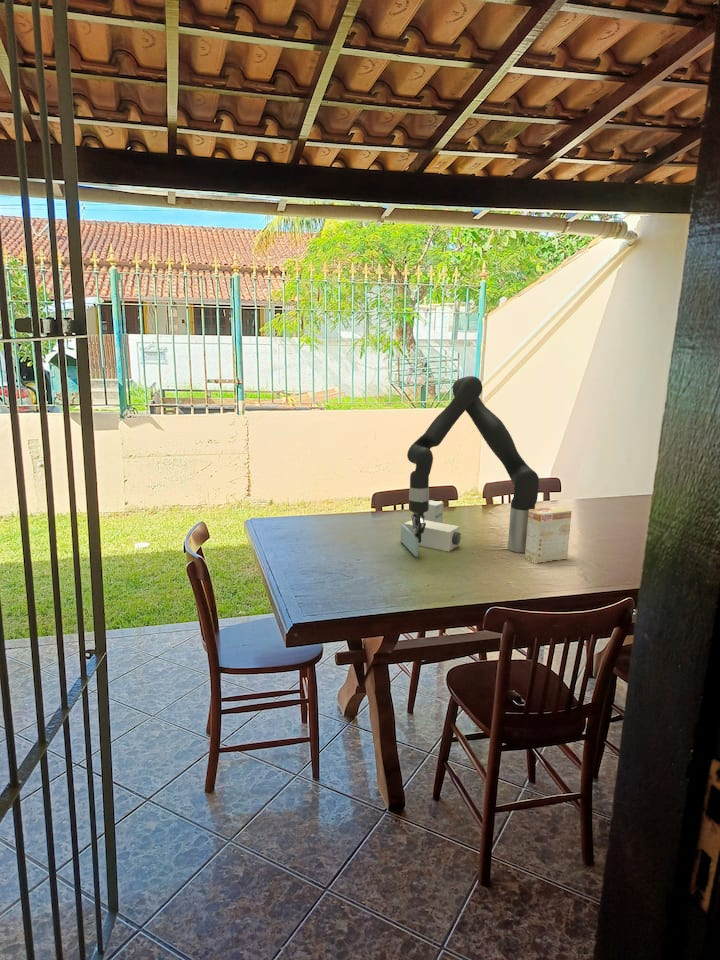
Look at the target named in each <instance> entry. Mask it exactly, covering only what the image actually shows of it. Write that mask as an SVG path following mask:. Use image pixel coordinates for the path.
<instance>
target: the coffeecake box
mask: <svg viewBox="0 0 720 960" xmlns="http://www.w3.org/2000/svg"><path fill="white" fill-rule="evenodd" d="M572 511H573V510H570V509H568V508H566V507H564V506H561V505H560V506H553V507H552V506H551V507H542V508H535V509H529V512H528V525H527V538H526V550H525V553H524V558H525V559H526V558H527V559H526V560H528V559H529V560H528V561H530V560H531V561H533V562H535V563H536V562H543V563H547V562H546V561H551V562H553V561H552V560H558V561H560V560H559V559H565V558H567V559H568V555H569V554H568V553H569V544H570V543H569V541H570V534H571V533H570V531H571V530H570V529H571V519H572ZM531 561H530V562H531ZM533 562H532V563H533ZM535 563H534V564H535ZM536 564H537V563H536Z"/></svg>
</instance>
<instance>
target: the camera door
mask: <svg viewBox="0 0 720 960" xmlns="http://www.w3.org/2000/svg"><path fill="white" fill-rule="evenodd" d="M400 542H401V543H402V545H404V546H405V547H406V548H407V550H409V551H410V553H411V554H412V555H413V556H414V557H418V555H419V545H418V538H417V537H416V536H415V535H414V534H413V533H412V532H411V531H410V530H409V529H408V528H407V527H406V526H405V525H404V523H401V527H400Z"/></svg>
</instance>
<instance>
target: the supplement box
mask: <svg viewBox="0 0 720 960" xmlns="http://www.w3.org/2000/svg"><path fill="white" fill-rule="evenodd" d="M443 515H444V502H442V501H438V500H431V499H429V510H428V511H427V512H424V516H425V520H427V521H433V522H438V523H444V522H443V521H444V516H443Z"/></svg>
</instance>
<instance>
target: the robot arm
mask: <svg viewBox="0 0 720 960" xmlns="http://www.w3.org/2000/svg"><path fill="white" fill-rule="evenodd" d="M482 392H483V383H482V381H481V380H480V378H478V377H476V376H475V375H474V376H472V375H469V376H465V377H461V378H459V379H457V380H455V381H454V382H453V384H452V394H453V396H454V397H453V398H452V399H451V401H450V403H449V404H448V405H447V406H446V407H445V408H444V409H443V410H442V411H441V412H440V413H439V414H438V415H437V416H436V417H435V418H434V420H433V421H432V422H431V424H430V425H429V426H428V427H427V429H426V430H425V432H424V433H423V434H422V435H421V436H420V437H419V438H417V439H416V440H415V441H414V442H413V443H412V444H411V445H410V447H409V448H408V451H407V460H408V461H409V462H410V463H412V464H413V465H415V470H413V471H412V472H411V473H410V476H409V491H408V511H410V512H412V513H413V514H411V520H412V523H413V529H414V532H415V536H416V537H417V538H418V543H420V542H421V533H423V532H424V529H425V526H426V523H424V520H425V516H424V512H427V511H428V510H429V500H430V489H429V484H430V483H429V481H430V480H429V479H430V477H429V476H430V473H431V470H432V468H433V463H434V456H433V452H432V450H431V449H433V448H434V447H439V446H440V444H441V443H442V442H443V441H444V439H445V438H446V436H447V434H448V433H449V431H450V430H451V429H452V428H453V426H454V425H455V424H456V422H457V421H458V420H459V419H460V417H461V416H462V415H463V414H464V413H465V412H466V413H467V414H468V416H469V417H470V419H471V421H472V422H473V424H474V425H475V427H476V429H477V431H478V432H479V433H480V435H481V436H482V438H483V439H484V441H485V442H486V445H487V446H488V447H489V449H490V450H491V451H492V452H493V454H494V455H495V456H496V457H497V458H498V460H499V461H500V462H501V463H502V465H503V466H504V468H505V470H506V472H507V474H508V476H509V479H510V480H511V482H512V484H513V486H514V488H513V496H512V499H511V501H510V512H509V527H508V538H507V550H509V551H511V552H515V553H520V552H521V553H524V554H525V550H526V538H527V525H528V512H529V509H536V504H537V501H538V496H539V488H540V487H539V486H540V478H539V475H538V473H537V472H536V471H535V470H533V469H532V468H531V467H530V466H529V465H528V464H527V463H526V461H524V459H523V458H522V456H521V455H520V453H519V452H518V450H517V447H516V445H515V442H514V440H513V438H512V435H511V434H510V432H509V431H508V428H507V427H506V425H505V424H504V423H503V421H502V420H501V419H500V418H499V417H498V416H497V415H496V414H495V413H493V412H492V411H491V410H490V409H489V408H488V407H487V406H486V405H485V404H484V402H483V401H482V400H481V398H480V396H481V394H482Z"/></svg>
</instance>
